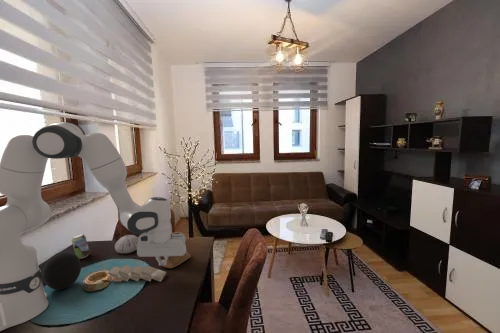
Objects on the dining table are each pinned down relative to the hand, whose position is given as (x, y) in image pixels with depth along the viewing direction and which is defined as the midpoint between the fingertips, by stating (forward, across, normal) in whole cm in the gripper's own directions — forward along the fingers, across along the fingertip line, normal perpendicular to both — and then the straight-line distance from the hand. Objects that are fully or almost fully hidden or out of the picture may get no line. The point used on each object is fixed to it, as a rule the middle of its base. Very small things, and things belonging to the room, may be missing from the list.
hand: (162, 265), depth 105 cm
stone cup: (+6, -2, -14) cm, 15 cm away
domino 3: (+5, +10, -1) cm, 11 cm away
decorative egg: (+6, +39, +5) cm, 40 cm away
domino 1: (+5, +14, -1) cm, 15 cm away
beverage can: (+6, +50, -22) cm, 55 cm away
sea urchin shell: (+6, +30, -30) cm, 42 cm away
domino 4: (+5, +5, 0) cm, 7 cm away
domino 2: (+6, +17, -1) cm, 18 cm away
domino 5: (+5, 0, 0) cm, 5 cm away
